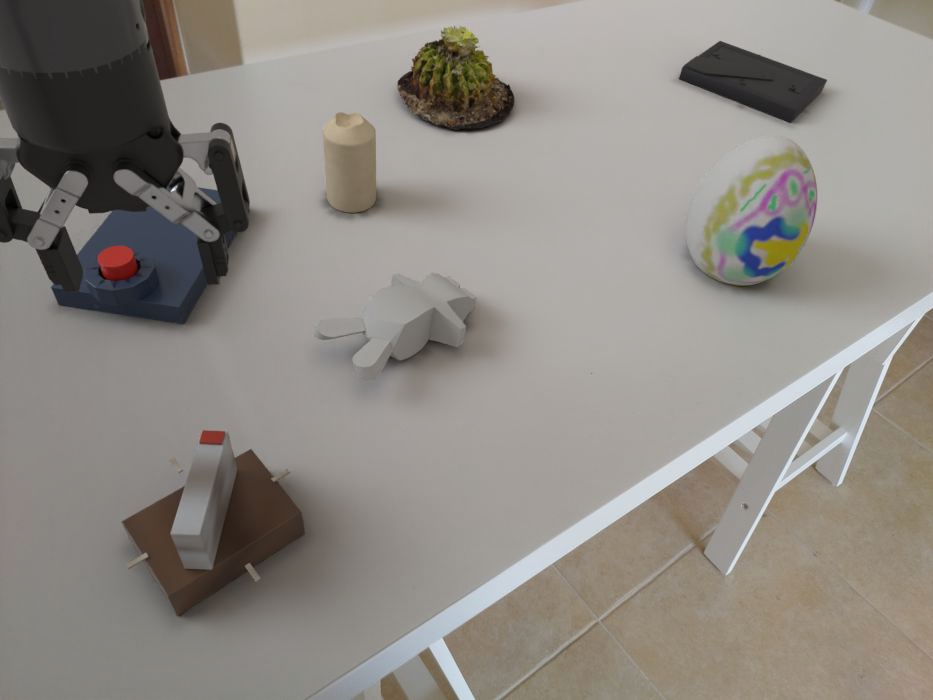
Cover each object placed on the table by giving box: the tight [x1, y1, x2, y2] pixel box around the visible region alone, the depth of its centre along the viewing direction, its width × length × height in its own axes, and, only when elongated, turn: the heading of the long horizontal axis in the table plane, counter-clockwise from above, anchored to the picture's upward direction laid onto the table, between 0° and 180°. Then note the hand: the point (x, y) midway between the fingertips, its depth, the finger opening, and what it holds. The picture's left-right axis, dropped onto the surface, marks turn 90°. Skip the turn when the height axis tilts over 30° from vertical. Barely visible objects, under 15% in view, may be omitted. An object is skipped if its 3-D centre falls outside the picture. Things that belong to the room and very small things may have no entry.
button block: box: [50, 186, 251, 325], centre depth 73 cm, size 19×12×4 cm, turn 172°
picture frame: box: [678, 40, 828, 124], centre depth 111 cm, size 13×2×18 cm
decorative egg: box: [684, 134, 818, 287], centre depth 76 cm, size 12×12×15 cm
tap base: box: [121, 448, 306, 617], centre depth 52 cm, size 12×12×3 cm
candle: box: [322, 112, 377, 214], centre depth 80 cm, size 6×6×10 cm
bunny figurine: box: [312, 272, 477, 381], centre depth 67 cm, size 10×5×15 cm
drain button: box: [98, 246, 138, 281], centre depth 66 cm, size 3×3×2 cm
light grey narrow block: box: [170, 429, 237, 570], centre depth 50 cm, size 8×2×5 cm, turn 0°
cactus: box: [396, 25, 515, 131], centre depth 98 cm, size 17×16×10 cm
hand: (146, 280), depth 47 cm, fingers open, 8 cm apart
